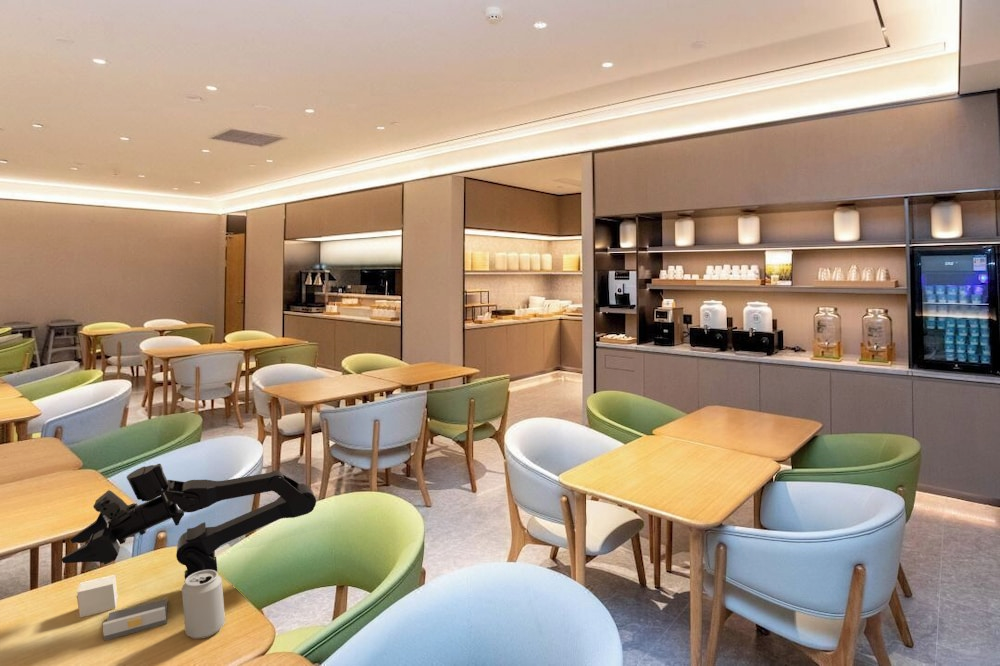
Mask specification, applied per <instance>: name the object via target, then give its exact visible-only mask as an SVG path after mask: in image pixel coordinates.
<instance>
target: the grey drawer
mask: <svg viewBox="0 0 1000 666" xmlns="http://www.w3.org/2000/svg"><path fill="white" fill-rule="evenodd" d="M167 615H168V598H162V599H159V600H154V601H151V602H147V603H142V604H139V605H135V606H131V607H127V608H123V609H120V610H115V611H112V612H109V613H108V618H107V621H104V622H103V623H102V631H103V639H104V642H105V641H109V640H111V639H112V640H113V639H116V638H120V637H123V636H126V635H131V634H134V633H138V632H141V631H145V630H149V629H152V628H155V627H159V626H163V625H166V624H167Z"/></svg>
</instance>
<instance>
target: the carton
mask: <svg viewBox="0 0 1000 666" xmlns="http://www.w3.org/2000/svg"><path fill="white" fill-rule="evenodd" d="M117 590H118V589H117V579H116V574H112V575H107V576H104V577H103V576H102V577H98V578H94V579H89V580H86V581H81V582H80V583H79V585H78V589H77V592H76V594H77V595H76V600H77V607H78V608H77V609H78V612H79V618H83V617H84V616H85V617H89V616H91V614H92V615H96V614H100V613H103V611H104V612H108V611H111V610H110V609H112V610H115V608H117V604H118V600H117V599H119V597H118V591H117ZM107 610H108V611H107ZM99 612H100V613H99ZM85 617H84V618H85Z"/></svg>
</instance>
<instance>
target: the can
mask: <svg viewBox="0 0 1000 666" xmlns="http://www.w3.org/2000/svg"><path fill="white" fill-rule="evenodd" d="M217 572H218V571H217ZM217 572H216V571H215V570H202V571H198V572H195V573H193V574H191V575H190V576H188V577H187V578H186V579H185V578H184V584H183V585H182V587H181V597H182V608H183V609H182V610H183V618H184V619H183V620H184V629H185V635H187V636H188V637H191V638H192V639H196V640H198V639H199V640H200V639H201V638H202V639H207V638H209V637H211V636H214V635H215V634H217V633H218V632H219V631H220V630H221V628H222V627H223V626H224V625H225V622H226V615H225V601H224V593H223V592H224V591H223V590H224V589H223V580H222V577H221V576H220V575H219V573H217ZM202 639H201V640H202Z"/></svg>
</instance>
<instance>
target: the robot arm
mask: <svg viewBox="0 0 1000 666" xmlns="http://www.w3.org/2000/svg"><path fill="white" fill-rule="evenodd" d="M126 479H127V482H128V483H129V485H130V487H131V489H132V491H133V493H134V495H135V497H136V499H137V500H138V501H139V500H140V501H141V502H144V503H141V504H138V503H134V502H133V503H130V504H127V503H126V502H125V501H124V500H123V498H121V497H119V496H118V495H117V494H115V493H114V491H112V490H109V489H108V490H107V491H106V492H104V493H103V494H102V495H101V496H99V497H98V498H97V499H96V500H95V501H94V502H95V503H94V504H93V510H95V511H96V512H98V513H99V515H98V516H97V517H96V520H94V521H93V522H92V523H91V524H89V525H88V526H86V527H85V528H84V529H82V530H81V531H79V532H77V533H76V534H75V535H73V536H72V537H71V538H70V542H71V543H72V544H75V543H76V544H77V543H82V542H87V543H85V544H83V545H82V546H80V547H78V548H77V549H74V550H73V551H70V553H68V554H66V555H65V556H63V557H62V558H61V562H62V563H63V564H73V563H100V564H103V565H107V564H110V563H113V562H114V561H116V559H117V557H118V556H119V552H120V549H121V545H122V544H125V543H126V541H127V539H128V538H131V537H133V536H136V535H137V534H139V535H140V536H142V535H144V534H146V533H147V530H149V529H150V528H153V527H155V526H157V525H159V524H161V523H164V522H166V521H169V520H171V519H172V522H173V523H174V525H175V526H179V524H180V522H181V520H182V518H183V517H184V516H185V513H193V512H194V513H195V512H197V511H200V510H203V509H206V508H209V507H211V506H212V505H214V504H217V503H218V502H221V501H226V500H229V499H235V498H236V499H237V498H241V497H247V496H252V495H253V496H254V495H257V494H262V493H268V492H274V493H276V494H277V495H278V496H279V497H277V499H275V500H274V501H272V502H269V503H267V504H264V505H262V506H261V507H258V508H256V509H254V510H250V511H249V512H246V513H244V514H241V515H239V516H237V517H235V518H232V519H229V520H228V521H226V522H224V523H223V522H222V523H221V524H218V525H215V526H207V524H206V522H205V521H204V522H201V523H199V524H198V525H196V526H195V527H192V528H191V527H189V528H187V529H186V532H184V533H183V534H181V535H180V537H179V539H178V541H177V546H176V553H175V555H176V557H175V558H176V561H177V562H178V563H179V564H180V565H183V566H185V567H186V570H185V571H184V580H185V579H186V578H187V577H188V576H190V575H191V574H193V573H195V572H198V571H202V570H215V571H216V572H217V573H218V562H217V556H216V552H215V551H216V550H218V549H220V547H221V546H223V545H224V544H227V543H229V542H231V541H235V540H236V539H239V538H241V537H243V536H245V535H247V534H249V533H253V532H254V531H256V530H259V529H260V528H263V527H265V526H268V525H270V524H272V523H275V522H276V521H278V520H282V519H292V518H293V519H294V518H299V517H301V516H304V515H308V514H310V513H311V512H313V511H314V509H315V507H316V504H317V499H316V496H315V494H314V492H313V490H312V488H311V486H309V485H307V484H305V483H298V482H297V481H296V480H294V479H293V478H291V477H288V476H287V475H285V474H284V473H282V472H281V471H279V470H272V471H270V472H266V473H261V474H259V473H258V474H254V475H253V474H252V475H249V476H241V477H236V478H230V479H225V480H211V479H190V480H186V481H182V480H173V479H167V476H166V475H165V473H164V470H163V466H162V464H161V463H157V464H152V465H147V466H145V465H144V466H142V467H139V468H138V469H135V470H134V471H132V472H130V473H128V475H126ZM218 574H219V573H218Z"/></svg>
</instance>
